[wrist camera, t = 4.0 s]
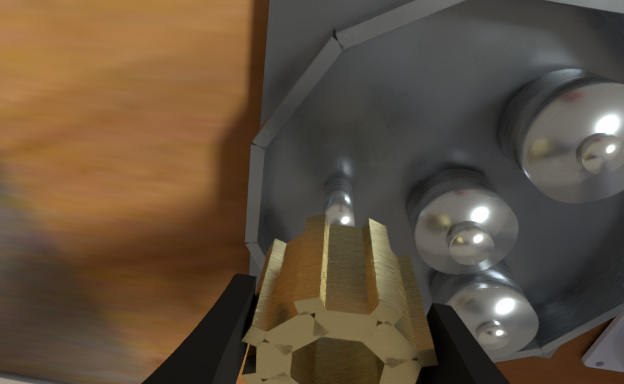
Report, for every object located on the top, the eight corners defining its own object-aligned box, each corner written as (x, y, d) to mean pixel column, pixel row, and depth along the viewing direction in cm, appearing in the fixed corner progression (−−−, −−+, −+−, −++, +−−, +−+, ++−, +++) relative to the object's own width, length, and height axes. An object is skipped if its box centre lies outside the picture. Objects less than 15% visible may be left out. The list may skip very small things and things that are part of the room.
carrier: (770, 23, 15) (942, 39, 10) (541, 342, 25) (582, 415, 20) (278, -60, 14) (254, -78, 10) (249, 298, 24) (231, 364, 20)
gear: (425, 224, 12) (458, 313, 9) (394, 333, 15) (410, 434, 12) (269, 206, 13) (241, 287, 9) (265, 317, 15) (242, 413, 12)
